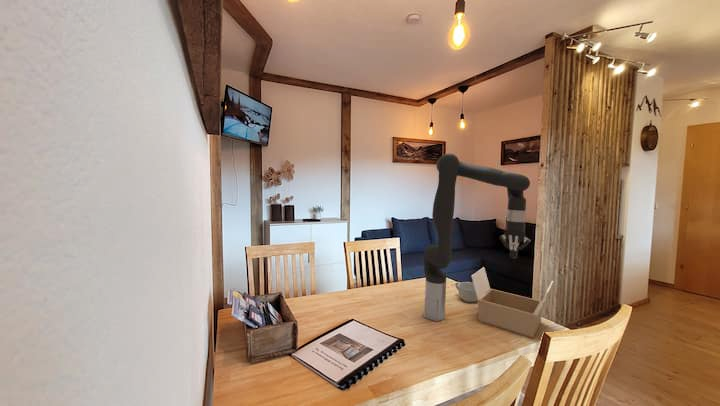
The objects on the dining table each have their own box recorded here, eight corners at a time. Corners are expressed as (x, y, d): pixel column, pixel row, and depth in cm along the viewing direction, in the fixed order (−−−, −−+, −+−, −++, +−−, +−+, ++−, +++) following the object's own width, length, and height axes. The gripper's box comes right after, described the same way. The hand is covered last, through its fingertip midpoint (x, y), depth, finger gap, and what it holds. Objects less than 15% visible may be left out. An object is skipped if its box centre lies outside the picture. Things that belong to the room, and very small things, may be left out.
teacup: (484, 302, 152) (484, 287, 152) (467, 305, 148) (468, 290, 148) (465, 292, 165) (465, 278, 164) (449, 295, 161) (450, 281, 160)
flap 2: (535, 314, 117) (537, 315, 117) (546, 292, 114) (547, 292, 114) (542, 301, 130) (543, 301, 130) (552, 280, 127) (553, 281, 127)
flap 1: (472, 275, 133) (471, 275, 133) (478, 299, 132) (477, 299, 132) (484, 267, 146) (483, 267, 146) (490, 288, 145) (489, 288, 145)
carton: (533, 339, 118) (535, 315, 117) (477, 321, 132) (478, 299, 131) (540, 322, 132) (542, 301, 131) (489, 308, 146) (490, 288, 145)
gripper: (497, 219, 131) (495, 257, 132) (530, 222, 122) (528, 262, 124) (502, 217, 137) (499, 254, 138) (534, 220, 128) (531, 259, 130)
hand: (513, 258), depth 131 cm, fingers closed
